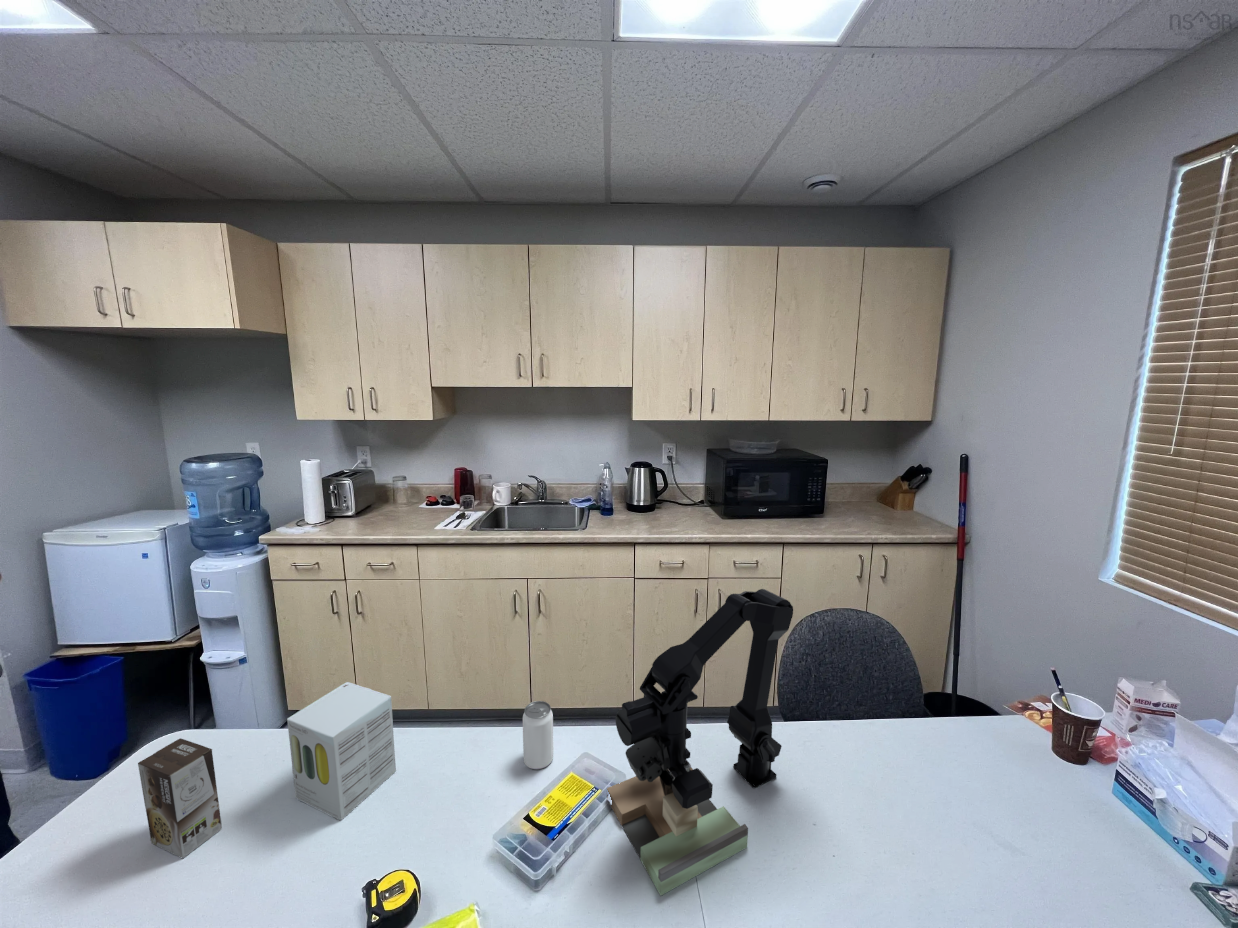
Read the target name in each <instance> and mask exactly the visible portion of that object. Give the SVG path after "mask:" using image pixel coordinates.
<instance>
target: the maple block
mask: <svg viewBox="0 0 1238 928" xmlns="http://www.w3.org/2000/svg"><path fill="white" fill-rule="evenodd" d="M697 815H698V806H697V805H695V806H692V807H690V808H688V809H686V808H682V806H681V805H680V803H679V802H678V801H677V799H676V798H675V796H674V794H673V793H670V794H668V795H666V796H663V817H664V819H665V820H666V822H667V824H668V825H669V827H670V828H671V830H672V831H673V833H674V834H675V836H678V835H680V834H682V833H684V832H687V831H689V830H691V829H693V828H695V827H697Z"/></svg>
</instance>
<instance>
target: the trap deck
mask: <svg viewBox="0 0 1238 928" xmlns="http://www.w3.org/2000/svg"><path fill="white" fill-rule="evenodd" d="M689 769H690V770H693V769H694V768H692V767H691V768H689ZM619 783H620V784H619ZM607 790H608V792H609V794H610V797H611V800H612V805H611V806H610V807H611V809H612V811H613V813H614V816H616V818H617V820H618V822H619V824H620V825H621V827H622V829H623V831H624V833H625V834H626V835H625V836H627V838H628V840H629V842H630V843H631V846H632V847H633V849H634V851H635V853H636V854H637V856H638V858H639V859H640V861H641V864H642V866H643V867H644V869H645V870H646V872H647V874H648V876H649V878H650V879H651V881H652V883H653V885H654V887H655V889H656V891H657V892H658V894H659V896H663V895H665V894H666V893H668V892H670V891H672V890H673V889H675V888H677V887H680V886H681V885H683V884H684V883H686V882H688V881H691V880H692V879H693V878H695V877H697V876H699V875H700V874H702V873H704V872H706V871H707V870H709V869H711V868H713V867H715V866H716V865H718V864H720V863H722V862H723V861H725V860H727V859H729V858H731V857H732V856H734V855H737V854H738V853H740V852H741V851H743V850H745V849H747V848H748V837H749V836H748V833H749V827H748V825H747V824H745V823H744V824H742V825H740V824H739V823H738V822H737V820H736V819H735V818H734V817H733V816H732V814H731V813H730V812H729V811H728V810H727V808H726V807H725V806H724V805H722V806H721V807H719V808H717V807H716V806H715V804H714V803H713V802H712V800H711V799H708V800H705V801H703V802H701V803H699V804H697V806H698V815H697V827H695V828H693V829H691V830H689V831H687V832H684V833H682V834H680V835H678V836H675V834H674V833H673V831H672V830H671V828H670V827H669V825H668V824H667V822H666V820H665V819H664V817H663V796H665V795H664V792H663V788H662V784H661V781H660V777H657V778H656V779H655V780H653V781H652V782H648V780H647V779H646V780H644V781H640V780H639V779H638V778H637V776H636V775H635V776H633V777H630V778H629V779H625V780H624V781H620V782H618V783H616V784H614V785H612V786H611V785H610V786H609V787H607V788H606V791H607Z"/></svg>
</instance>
